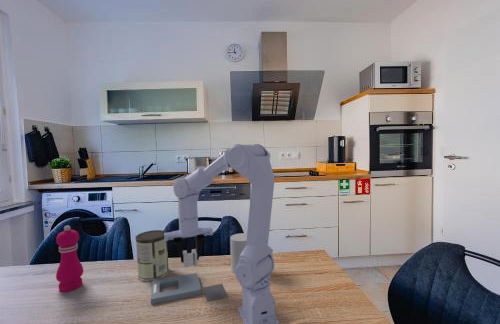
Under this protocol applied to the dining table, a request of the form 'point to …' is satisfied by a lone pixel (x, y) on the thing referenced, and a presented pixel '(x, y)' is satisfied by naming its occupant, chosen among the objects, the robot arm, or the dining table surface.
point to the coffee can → (151, 255)
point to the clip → (190, 258)
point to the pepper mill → (69, 261)
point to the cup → (237, 248)
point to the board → (186, 289)
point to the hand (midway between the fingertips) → (189, 260)
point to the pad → (215, 292)
